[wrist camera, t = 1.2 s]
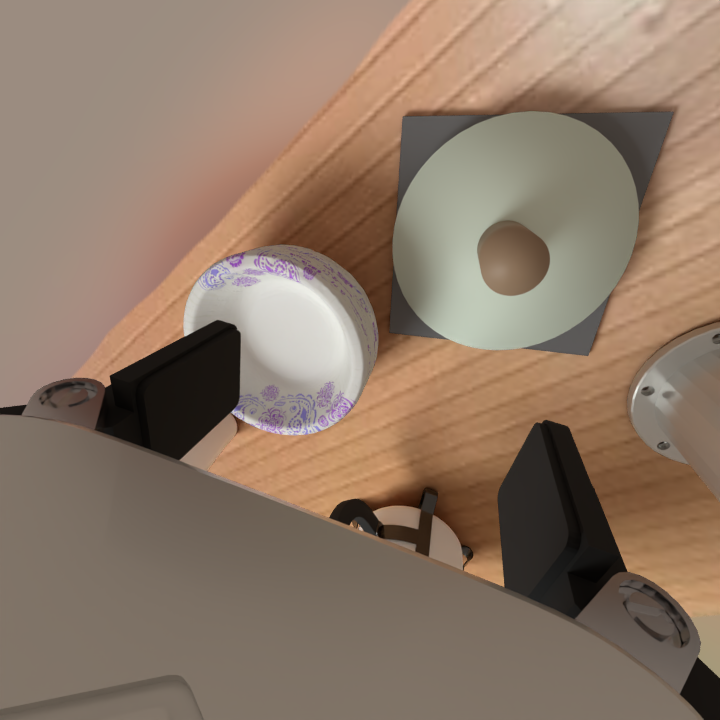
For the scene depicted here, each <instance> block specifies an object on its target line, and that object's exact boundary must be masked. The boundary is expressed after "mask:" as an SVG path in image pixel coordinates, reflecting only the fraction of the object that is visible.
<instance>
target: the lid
mask: <svg viewBox="0 0 720 720" xmlns="http://www.w3.org/2000/svg"><path fill="white" fill-rule="evenodd" d="M638 223H639V203H638V197H637V191H636V186H635V183H634V180H633V177H632V175H631V172H630V170H629V168H628V166H627V164H626V162H625V160H624V159H623V157H622V155H621V154H620V153H619V152H618V150H617V149H616V148H615V147H614V145H613V144H612V143H611V142H610V141H609V140H608V139H607V138H605V137H604V136H603V135H602V134H601V133H600V132H599V131H597V130H595V129H594V128H592V127H590V126H589V125H587V124H585V123H584V122H581V121H579V120H576V119H574V118H571V117H568V116H565V115H560V114H556V113H551V112H538V111H526V112H515V113H509V114H505V115H501V116H497V117H493V118H490V119H488V120H485V121H483V122H480V123H477V124H475V125H473V126H472V127H470V128H468V129H466V130H464V131H462V132H460V133H459V134H458V135H456V136H455V137H453V138H452V139H450V140H449V141H448V142H446V143H445V144H444V145H443V146H442V147H441V148H439V149H438V150H437V151H436V152H435V153H434V154H433V155H432V156H431V157H430V158H429V159H428V160H427V162H426V163H425V164H424V165H423V166H422V167H421V169H420V170H419V172H418V173H417V174H416V176H415V177H414V179H413V180H412V182H411V184H410V186H409V187H408V189H407V191H406V193H405V195H404V197H403V200H402V202H401V205H400V208H399V210H398V214H397V218H396V222H395V226H394V233H393V262H394V269H395V273H396V277H397V280H398V283H399V286H400V288H401V291H402V293H403V295H404V297H405V299H406V300H407V302H408V304H409V305H410V307H411V308H412V309H413V311H414V312H415V313H416V315H417V316H418V317H419V318H420V319H421V320H422V321H423V322H424V323H425V324H426V325H428V326H429V327H430V328H431V329H433V330H434V331H435V332H437V333H439V334H440V335H442V336H444V337H445V338H447V339H449V340H452V341H454V342H456V343H459V344H462V345H465V346H469V347H473V348H479V349H485V350H512V349H518V348H524V347H529V346H532V345H536V344H540V343H542V342H545V341H547V340H550V339H552V338H555V337H557V336H559V335H561V334H563V333H564V332H566V331H568V330H570V329H571V328H573V327H574V326H576V325H577V324H579V323H580V322H582V321H583V320H584V319H585V318H587V317H588V316H589V315H590V314H591V313H593V312H594V311H595V310H596V309H597V308H598V307H599V306H600V305H601V304H602V303H603V301H604V300H605V299H606V298H607V297H608V296H609V294H610V293H611V292H612V290H613V289H614V288H615V286H616V285H617V283H618V281H619V280H620V278H621V276H622V275H623V273H624V271H625V269H626V267H627V265H628V262H629V260H630V258H631V255H632V252H633V249H634V245H635V242H636V238H637V231H638Z"/></svg>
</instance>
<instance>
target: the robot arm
mask: <svg viewBox="0 0 720 720" xmlns="http://www.w3.org/2000/svg"><path fill="white" fill-rule="evenodd" d="M240 358H241V333H240V331H239V330H237V327H236V326H235V325H234V324H231V323H227V322H224V321H221V320H216V321H214V322H212V323H210V324H208V325H206V326H204V327H202V328H200V329H198V330H196V331H194V332H193V333H191V334H189V335H187V336H185V337H183V338H181V339H179V340H177V341H175V342H173V343H172V344H170V345H168V346H166V347H164V348H162V349H160V350H158V351H156V352H154V353H152V354H151V355H149V356H147V357H145V358H143V359H141V360H139V361H137V362H135V363H133V364H131V365H130V366H128V367H126V368H124V369H122V370H120V371H118V372H116V373H114V374H112V375H110V380H111V385H109V386H108V387H106V388H105V386H104V385H103V384H102V383H101V382H99V381H97V380H94V379H89V378H71V379H64V380H60V381H56V382H53V383H51V384H48V385H46V386H43V387H42V388H40V389H39V390H37V391H36V392H35V393H34V394H33V396H32V397H31V399H30V400H29V402H28V404H27V405H21V406H12V407H4V408H0V720H720V678H719V677H718V676H717V675H716V674H715V673H714V672H712V671H711V670H710V669H709V668H708V667H707V666H706V665H705V664H704V663H703V662H702V661H701V660H700V659H699V658H698V654H699V652H700V645H701V642H700V638H699V635H698V632H697V629H696V627H695V626H694V624H693V622H692V620H691V619H690V617H689V616H688V614H687V613H686V612H685V611H684V609H683V608H682V607H681V606H680V604H679V603H678V602H677V601H676V600H675V599H673V598H672V597H671V596H670V595H669V594H668V593H667V592H666V591H665V590H663V589H662V588H661V587H659V586H658V585H656V584H655V583H654V582H652V581H650V580H648V579H646V578H644V577H642V576H640V575H637V574H634V573H630V572H627V569H626V567H625V564H624V562H623V559H622V557H621V554H620V552H619V549H618V547H617V544H616V542H615V539H614V537H613V534H612V532H611V529H610V527H609V524H608V522H607V519H606V517H605V514H604V512H603V509H602V507H601V504H600V502H599V499H598V497H597V494H596V492H595V489H594V488H593V486H592V484H591V482H590V479H589V477H588V474H587V472H586V469H585V467H584V464H583V462H582V459H581V457H580V454H579V452H578V449H577V447H576V444H575V442H574V439H573V437H572V434H571V432H570V429H569V428H568V427H567V426H565V425H561V424H558V423H555V422H552V421H548V420H545V421H543V422H542V424H541V423H538V422H537V423H535V424H534V426H533V428H532V429H531V431H530V433H529V435H528V437H527V439H526V441H525V442H524V444H523V446H522V448H521V450H520V452H519V453H518V455H517V457H516V459H515V461H514V463H513V465H512V466H511V468H510V470H509V472H508V474H507V476H506V477H505V479H504V481H503V483H502V485H501V487H500V489H499V493H498V510H499V523H500V535H501V548H502V560H503V573H504V586H505V587H502V586H500V585H497V584H495V583H492V582H490V581H488V580H485V579H483V578H480V577H478V576H475V575H473V574H470V573H468V572H465V571H463V570H460V569H458V568H456V567H453V566H451V565H448V564H446V563H443V562H441V561H438V560H435V559H433V558H430V557H428V556H425V555H423V554H420V553H418V552H415V551H412V550H410V549H407V548H405V547H402V546H400V545H397V544H395V543H392V542H389V541H387V540H384V539H382V538H379V537H377V536H374V535H372V534H369V533H367V532H364V531H361V530H359V529H356V528H354V527H351V526H349V525H346V524H343V523H341V522H338V521H336V520H333V519H331V518H328V517H325V516H323V515H320V514H318V513H315V512H312V511H310V510H307V509H305V508H302V507H299V506H297V505H294V504H292V503H289V502H287V501H284V500H281V499H279V498H276V497H273V496H271V495H268V494H266V493H263V492H260V491H258V490H255V489H253V488H250V487H247V486H245V485H242V484H240V483H237V482H234V481H232V480H229V479H226V478H224V477H221V476H219V475H216V474H213V473H211V472H208V471H205V470H203V469H200V468H197V467H195V466H192V465H189V464H187V463H184V462H182V461H179V460H180V459H181V458H183V457H184V456H185V455H186V454H187V453H188V452H189V451H190V450H191V449H192V448H193V447H194V446H195V445H196V444H197V443H199V442H200V441H201V440H202V439H203V438H204V437H205V436H206V435H207V434H208V433H209V432H210V431H211V430H212V429H214V428H215V427H216V426H217V425H218V424H219V423H220V422H221V421H222V420H223V419H224V418H225V417H226V416H227V415H228V414H230V413H231V412H232V411H233V410H234V409H235V408H236V406H237V405H238V403H239V399H240ZM627 412H628V415H629V419H630V422H631V424H632V426H633V427H634V429H635V430H636V432H637V434H638V435H639V436H640V437H641V439H642V440H643V441H644V442H645V444H646V445H648V446H649V447H650V448H651V449H653V450H654V451H655V452H657V453H659V454H661V455H663V456H665V457H667V458H669V459H671V460H674V461H677V462H681V463H684V464H688V465H690V466H691V467H692V468H693V470H694V471H695V472H696V473H697V475H698V476H699V477H700V478H701V480H702V481H703V482H704V483H705V485H706V486H707V487H708V488H709V490H710V491H711V492H712V493H713V495H714V496H715V497H716V498H717V500H718V501H719V502H720V322H716V323H713V324H710V325H707V326H704V327H701V328H698V329H695V330H693V331H691V332H689V333H686V334H684V335H682V336H680V337H678V338H676V339H674V340H673V341H671V342H670V343H668V344H667V345H665V346H664V347H662V348H661V349H659V350H658V351H657V352H656V353H655V354H654V355H653V356H652V357H651V358H650V359H648V360H647V361H646V362H645V364H644V365H643V366H642V368H641V369H640V370H639V371H638V373H637V374H636V376H635V378H634V380H633V382H632V384H631V386H630V389H629V394H628V398H627Z"/></svg>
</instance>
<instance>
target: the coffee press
mask: <svg viewBox="0 0 720 720" xmlns="http://www.w3.org/2000/svg"><path fill="white" fill-rule="evenodd" d="M437 497H438V492H436V491H433V490H431V489H428V488H425V489H424V492H423V495H422V498H421V501H420V504H419V507H418V508H414V507H409V506H388V507H384V508H380V509H377V510H375V511H372V510H371V509H370V508H369V507H368V506H367V505H366V504H365V503H364V502H363V501H361V500H359V499H351V500H347V501H343V502H341V503H340V504H338V505H337V506H336V508H335V509H334V510H333V512H332V514H331V515H330V517H329V518H331V519H333V520H336V521H338V522H341V523H343V524H346V525H350V523H351V522H352V523H353V526H354V528H356V529H357V528H358V524H359V525H360V526H359V528H358V529H359V530H361V531H364V532H367V533H369V534H372V535H374V536H377V537H379V538H382V539H384V540H387V541H389V542H392V543H395V544H397V545H400V546H402V547H405V548H407V549H410V550H412V551H415V552H418V553H420V554H423V555H425V556H428V557H430V558H433V559H435V560H438V561H441V562H443V563H446V564H448V565H451V566H453V567H456V568H458V569H460V570H463V571H464V567H465V566H466V565H467V564H468V563H469V562H470V560H471V559H472V558H473V552H472V550H471V549H470V548H469V547H467V546H461V545H460V542H459V540H458V538H457V536H456V535H455V533H454V532H453V531H452V529H451V528H450V527H449V526H448V525H447V524H446V523H444V522H443V521H442V520H441V519H439V518H438V517H436V516H434V515H433V513H434V509H435V505H436V501H437ZM462 554H464V555H465V556H466V557H467V561H466V562H465V564H464V565H463V555H462Z"/></svg>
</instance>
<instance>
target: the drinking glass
mask: <svg viewBox="0 0 720 720" xmlns="http://www.w3.org/2000/svg"><path fill="white" fill-rule="evenodd" d="M236 433H237V423H236V420H235V418H234V416H233V415H232V414H231V413H230V414H228V415H227V416H226V417H225V418H224V419H223V420H222V421H221V422H220V423H219V424H218V425H217V426H216V427H215V428H214V429H212V430H211V431H210V432H209V433H208V434H207V435H206V436H205V437H204V438H203V439H202V440H201V441H200V442H199V443H197V444H196V445H195V446H194V447H193V448H192V449H191V450H190V451H189V452H188V453H187V454H186V455H185V456H184V457H183V458H181V459H180V460H179V461H182V462H184V463H187V464H189V465H192V466H195V467H197V468H200V469H203V470H205V471H208V470H209V469H210V467H211V466H212V465H213V463H214V462H215V461H216V459H217V458H218V457H219V455H220V454H221V453H222V451H223V450H224V449H225V447H226V446H227V445H228V444H229V443H230V441H231V440H232V439H233V438H234V437H235V435H236Z"/></svg>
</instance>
